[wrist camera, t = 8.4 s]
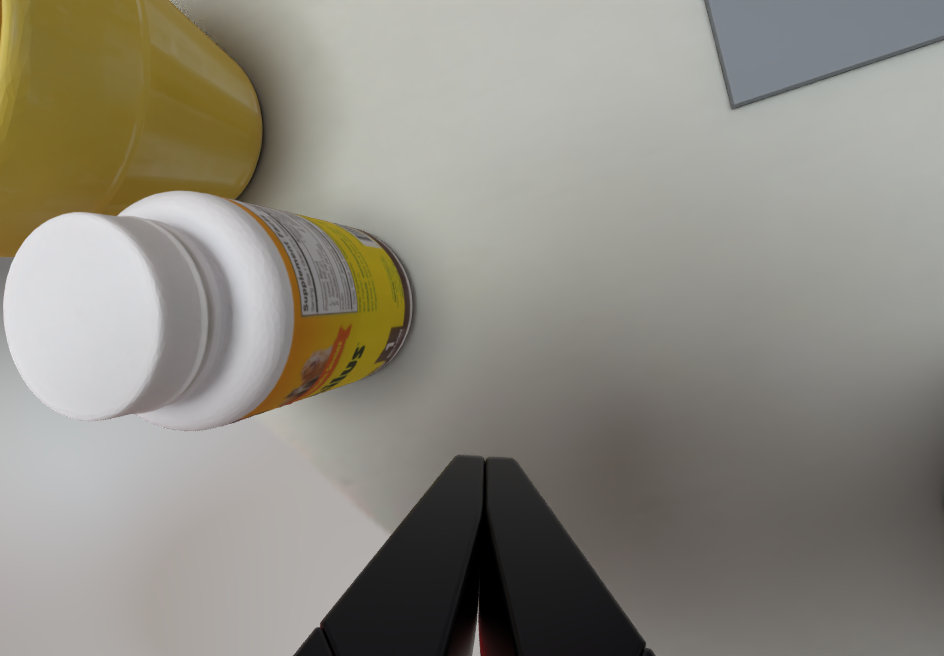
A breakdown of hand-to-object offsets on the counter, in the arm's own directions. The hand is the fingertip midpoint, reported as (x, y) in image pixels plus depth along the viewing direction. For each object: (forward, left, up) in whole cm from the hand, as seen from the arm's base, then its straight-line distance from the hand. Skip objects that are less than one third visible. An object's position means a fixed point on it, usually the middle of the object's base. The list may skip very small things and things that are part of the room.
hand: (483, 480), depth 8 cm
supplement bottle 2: (+8, +1, -11) cm, 13 cm away
